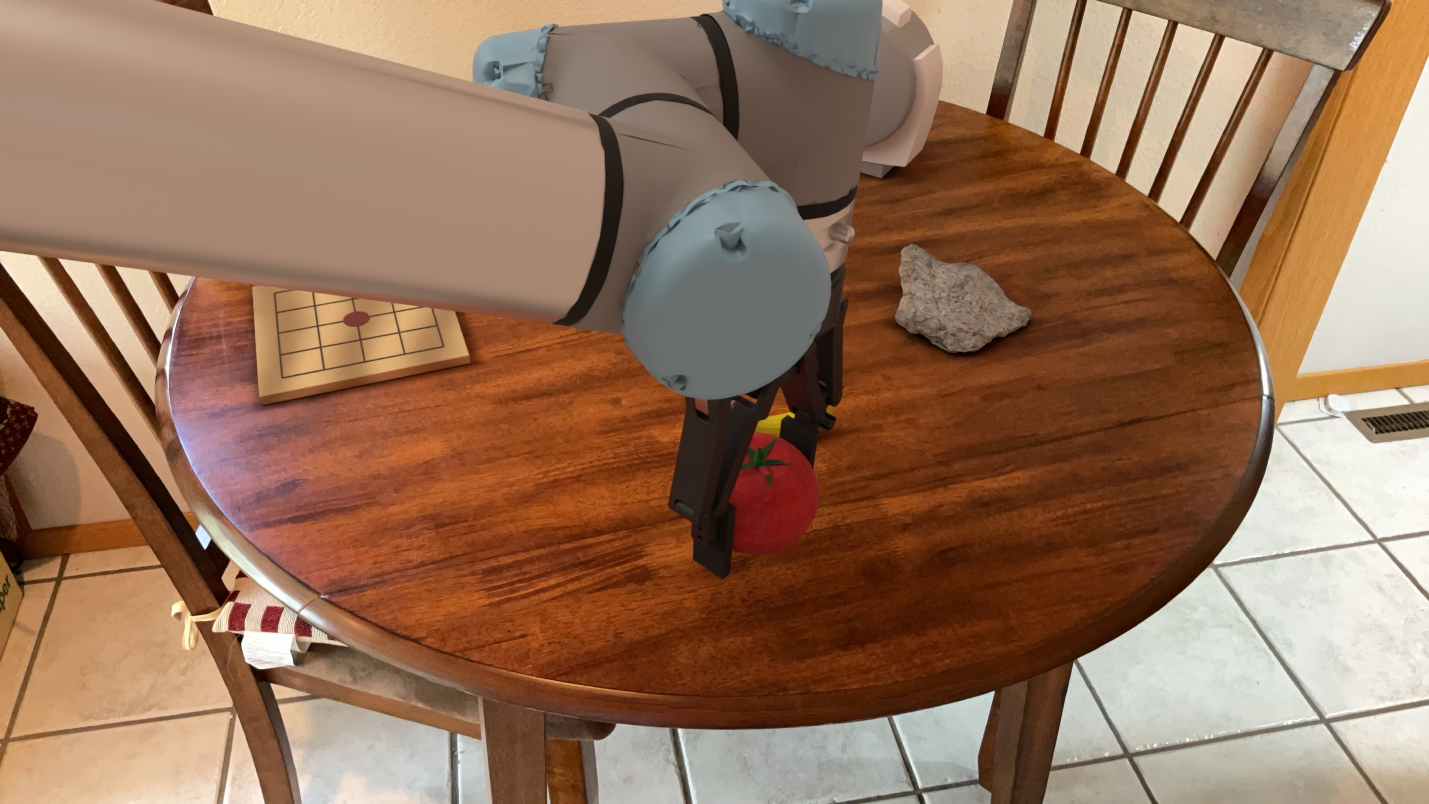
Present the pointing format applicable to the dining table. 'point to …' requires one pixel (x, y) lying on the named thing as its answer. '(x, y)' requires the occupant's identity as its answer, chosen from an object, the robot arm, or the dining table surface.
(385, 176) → the robot arm
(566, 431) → the dining table surface
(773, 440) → the tomato
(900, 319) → the rock
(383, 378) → the board
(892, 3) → the alarm clock
